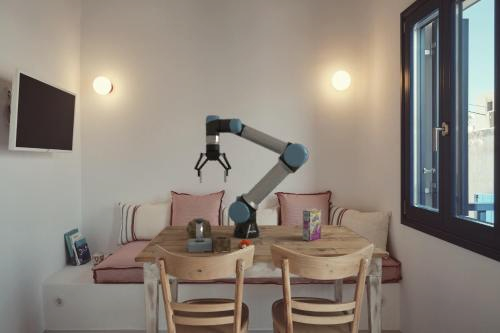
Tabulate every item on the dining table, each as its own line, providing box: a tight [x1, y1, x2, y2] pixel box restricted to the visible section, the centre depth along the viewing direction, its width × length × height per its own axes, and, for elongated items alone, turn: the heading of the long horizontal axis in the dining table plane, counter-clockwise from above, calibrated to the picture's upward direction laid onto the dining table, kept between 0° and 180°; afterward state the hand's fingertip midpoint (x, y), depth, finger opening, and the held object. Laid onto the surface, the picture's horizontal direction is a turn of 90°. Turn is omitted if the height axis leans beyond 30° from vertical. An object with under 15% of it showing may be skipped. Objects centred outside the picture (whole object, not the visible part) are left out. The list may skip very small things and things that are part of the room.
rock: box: [186, 218, 212, 238], centre depth 202 cm, size 20×14×10 cm
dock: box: [186, 237, 213, 254], centre depth 168 cm, size 11×11×4 cm
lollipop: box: [237, 225, 256, 249], centre depth 171 cm, size 6×10×12 cm, turn 95°
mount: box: [211, 235, 232, 253], centre depth 166 cm, size 8×8×6 cm
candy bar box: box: [302, 208, 322, 242], centre depth 188 cm, size 11×5×16 cm, turn 134°
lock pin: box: [194, 218, 205, 243], centre depth 168 cm, size 4×4×15 cm
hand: (213, 182), depth 187 cm, fingers open, 13 cm apart
